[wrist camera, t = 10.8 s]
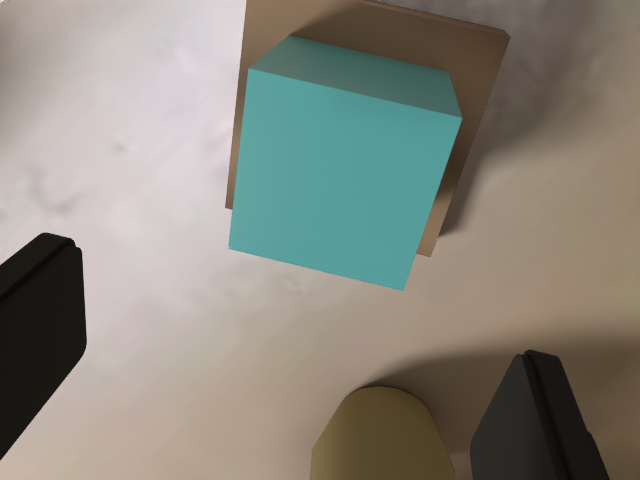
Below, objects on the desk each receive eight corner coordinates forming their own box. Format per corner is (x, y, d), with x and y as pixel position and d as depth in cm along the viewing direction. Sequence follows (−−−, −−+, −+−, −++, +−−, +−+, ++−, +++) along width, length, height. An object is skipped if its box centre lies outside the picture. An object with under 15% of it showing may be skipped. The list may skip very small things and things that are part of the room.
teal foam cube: (404, 213, 23) (403, 290, 18) (266, 180, 24) (228, 248, 18) (448, 71, 20) (462, 118, 15) (288, 35, 20) (248, 68, 15)
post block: (429, 241, 26) (434, 309, 21) (234, 194, 26) (195, 251, 21) (503, 30, 20) (532, 58, 16) (258, -26, 21) (215, -14, 16)
